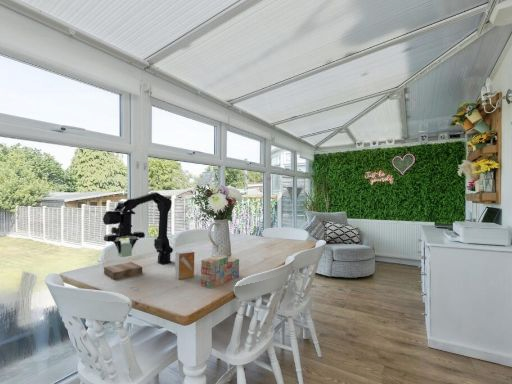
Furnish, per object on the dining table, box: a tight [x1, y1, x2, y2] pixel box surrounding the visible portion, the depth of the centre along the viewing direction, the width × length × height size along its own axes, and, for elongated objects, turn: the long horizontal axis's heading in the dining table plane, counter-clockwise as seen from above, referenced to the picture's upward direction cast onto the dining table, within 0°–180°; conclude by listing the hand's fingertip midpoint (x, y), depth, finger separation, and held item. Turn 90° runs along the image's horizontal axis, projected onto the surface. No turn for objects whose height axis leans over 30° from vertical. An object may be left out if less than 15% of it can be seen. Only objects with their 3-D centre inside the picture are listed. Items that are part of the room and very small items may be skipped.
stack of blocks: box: [200, 254, 240, 289], centre depth 128 cm, size 21×6×12 cm, turn 147°
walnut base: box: [103, 261, 143, 281], centre depth 136 cm, size 14×14×4 cm
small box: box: [174, 249, 195, 280], centre depth 133 cm, size 8×6×13 cm
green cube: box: [117, 242, 133, 258], centre depth 136 cm, size 5×5×6 cm
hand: (124, 252), depth 136 cm, fingers closed on green cube, 5 cm apart
